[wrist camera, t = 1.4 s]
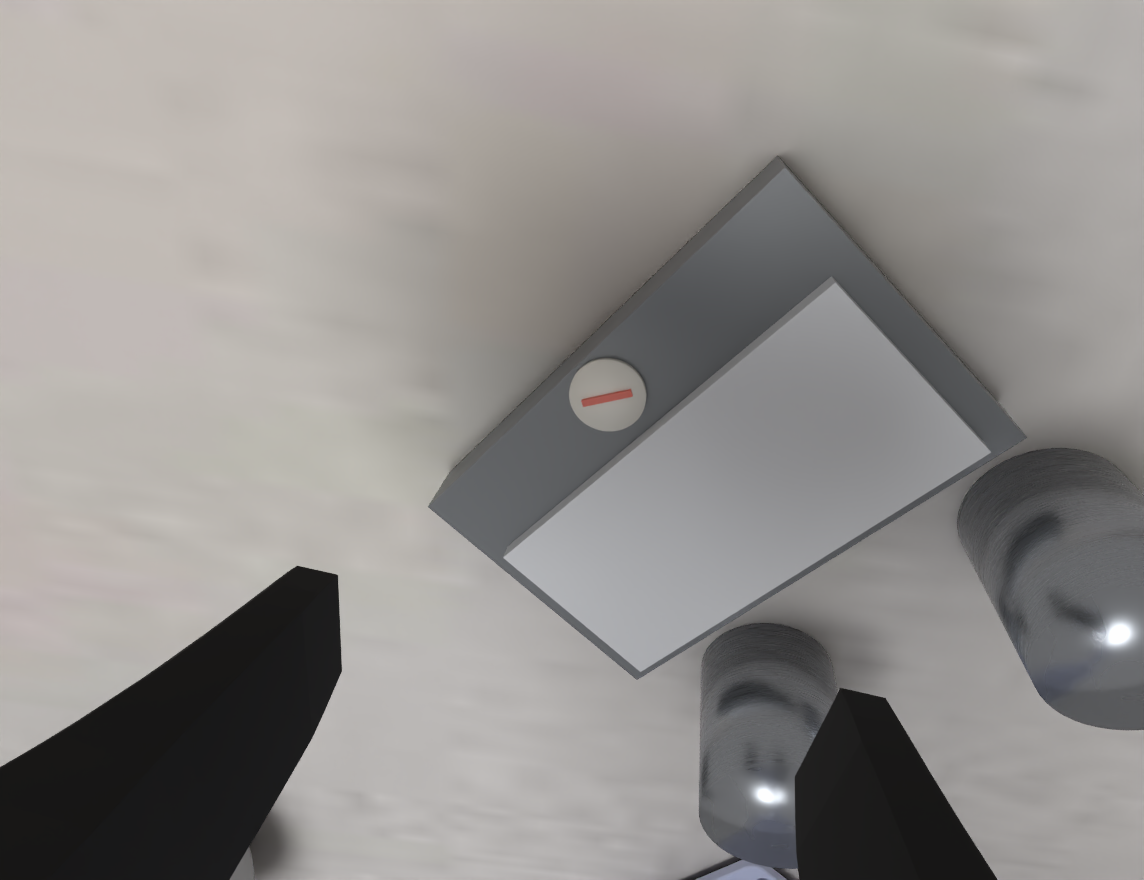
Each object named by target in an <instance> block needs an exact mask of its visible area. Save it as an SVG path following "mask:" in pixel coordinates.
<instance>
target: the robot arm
mask: <svg viewBox="0 0 1144 880" xmlns="http://www.w3.org/2000/svg"><path fill="white" fill-rule="evenodd" d="M341 672H342V664H341V640H340V616H339V592H338V575H336V574H332V573H327V572H323V571H318V570H314V569H309V568H305V567H300V566H296V567H295V568H293V569H291V570H290V571H289V572H287V573H286V574H285V575H283V576H282V577H281V578H279V579H278V580H276V581H275V582H274V583H272V584H271V585H270V586H269V587H267V588H266V589H265V590H263V591H262V592H261V593H259V594H258V595H257V596H255V597H254V598H253V599H251V600H250V601H249V602H247V603H246V604H245V605H243V606H242V607H241V608H239V609H238V610H237V611H235V612H234V613H233V614H231V615H230V616H229V617H227V618H226V619H225V620H223V621H222V622H221V623H219V624H218V625H217V626H215V627H214V628H212V629H211V630H210V631H208V632H207V633H206V634H204V635H203V636H202V637H200V638H199V639H197V640H196V641H194V642H193V643H192V644H190V645H189V646H187V647H186V648H185V649H183V650H182V651H180V652H179V653H178V654H176V655H175V656H173V657H172V658H171V659H169V660H168V661H166V662H165V663H164V664H162V665H161V666H159V667H158V668H157V669H155V670H154V671H152V672H151V673H149V674H148V675H146V676H145V677H144V678H142V679H141V680H139V681H138V682H136V683H134V684H133V685H131V686H130V687H128V688H127V689H125V690H124V691H122V692H121V693H119V694H118V695H116V696H115V697H113V698H112V699H110V700H109V701H107V702H106V703H104V704H103V705H101V706H99V707H98V708H96V709H95V710H93V711H92V712H90V713H89V714H87V715H86V716H84V717H83V718H81V719H80V720H78V721H76V722H75V723H73V724H72V725H70V726H68V727H67V728H65V729H64V730H62V731H60V732H59V733H57V734H55V735H54V736H52V737H51V738H49V739H47V740H46V741H44V742H42V743H41V744H39V745H37V746H36V747H34V748H32V749H31V750H29V751H27V752H26V753H24V754H22V755H20V756H19V757H17V758H15V759H14V760H12V761H10V762H8V763H7V764H5V765H3V766H1V767H0V880H230V878H231V876H232V875H233V873H234V871H235V870H236V868H237V866H238V864H239V863H240V861H241V859H242V858H243V856H244V854H245V853H246V851H247V849H248V847H249V846H250V844H251V842H252V841H253V839H254V837H255V835H256V834H257V832H258V830H259V829H260V827H261V825H262V824H263V822H264V820H265V818H266V817H267V815H268V813H269V812H270V810H271V808H272V807H273V805H274V803H275V801H276V800H277V798H278V796H279V795H280V793H281V791H282V789H283V788H284V786H285V784H286V783H287V781H288V779H289V777H290V776H291V774H292V772H293V771H294V769H295V767H296V765H297V764H298V762H299V760H300V758H301V757H302V755H303V753H304V751H305V750H306V748H307V746H308V744H309V743H310V741H311V739H312V737H313V735H314V733H315V731H316V728H317V726H318V724H319V722H320V720H321V718H322V715H323V713H324V711H325V709H326V706H327V704H328V702H329V700H330V697H331V695H332V693H333V690H334V688H335V686H336V683H337V681H338V679H339V676H340V674H341ZM795 830H796V856H797V864H798V872H799V880H997V878H996V877H995V875H994V873H993V872H992V870H991V869H990V867H989V866H988V864H987V863H986V861H985V859H984V858H983V856H982V855H981V853H980V852H979V850H978V849H977V847H976V845H975V844H974V842H973V841H972V839H971V838H970V836H969V835H968V833H967V831H966V830H965V828H964V827H963V825H962V823H961V822H960V820H959V819H958V817H957V815H956V814H955V812H954V811H953V809H952V807H951V806H950V804H949V803H948V801H947V799H946V798H945V796H944V794H943V793H942V791H941V789H940V788H939V786H938V784H937V783H936V781H935V780H934V778H933V776H932V775H931V773H930V771H929V770H928V768H927V766H926V765H925V763H924V761H923V760H922V758H921V756H920V755H919V753H918V751H917V750H916V748H915V746H914V745H913V743H912V741H911V740H910V738H909V736H908V735H907V733H906V731H905V730H904V728H903V726H902V725H901V723H900V721H899V720H898V718H897V716H896V715H895V713H894V711H893V710H892V708H891V706H890V705H889V703H888V702H887V700H886V698H883V697H878V696H874V695H869V694H865V693H861V692H856V691H852V690H847V689H843V688H840V690H839V692H838V694H837V696H836V698H835V700H834V702H833V704H832V705H831V707H830V709H829V711H828V713H827V715H826V717H825V719H824V721H823V723H822V725H821V727H820V729H819V731H818V733H817V734H816V736H815V738H814V740H813V742H812V744H811V746H810V748H809V750H808V752H807V754H806V756H805V758H804V760H803V762H802V763H801V765H800V767H799V769H798V771H797V773H796V775H795ZM695 880H787V879H785V878H784V877H783V876H782V875H780V874H779V873H778V872H777V871H775V870H774V869H773V868H772V867H767V866H761V865H757V864H754V863H750V862H747V861H745V860H740V861H738V862H736V863H733V864H731V865H728V866H726V867H724V868H721V869H719V870H717V871H714V872H712V873H709V874H707V875H705V876H702V877H700V878H698V879H695Z"/></svg>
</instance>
